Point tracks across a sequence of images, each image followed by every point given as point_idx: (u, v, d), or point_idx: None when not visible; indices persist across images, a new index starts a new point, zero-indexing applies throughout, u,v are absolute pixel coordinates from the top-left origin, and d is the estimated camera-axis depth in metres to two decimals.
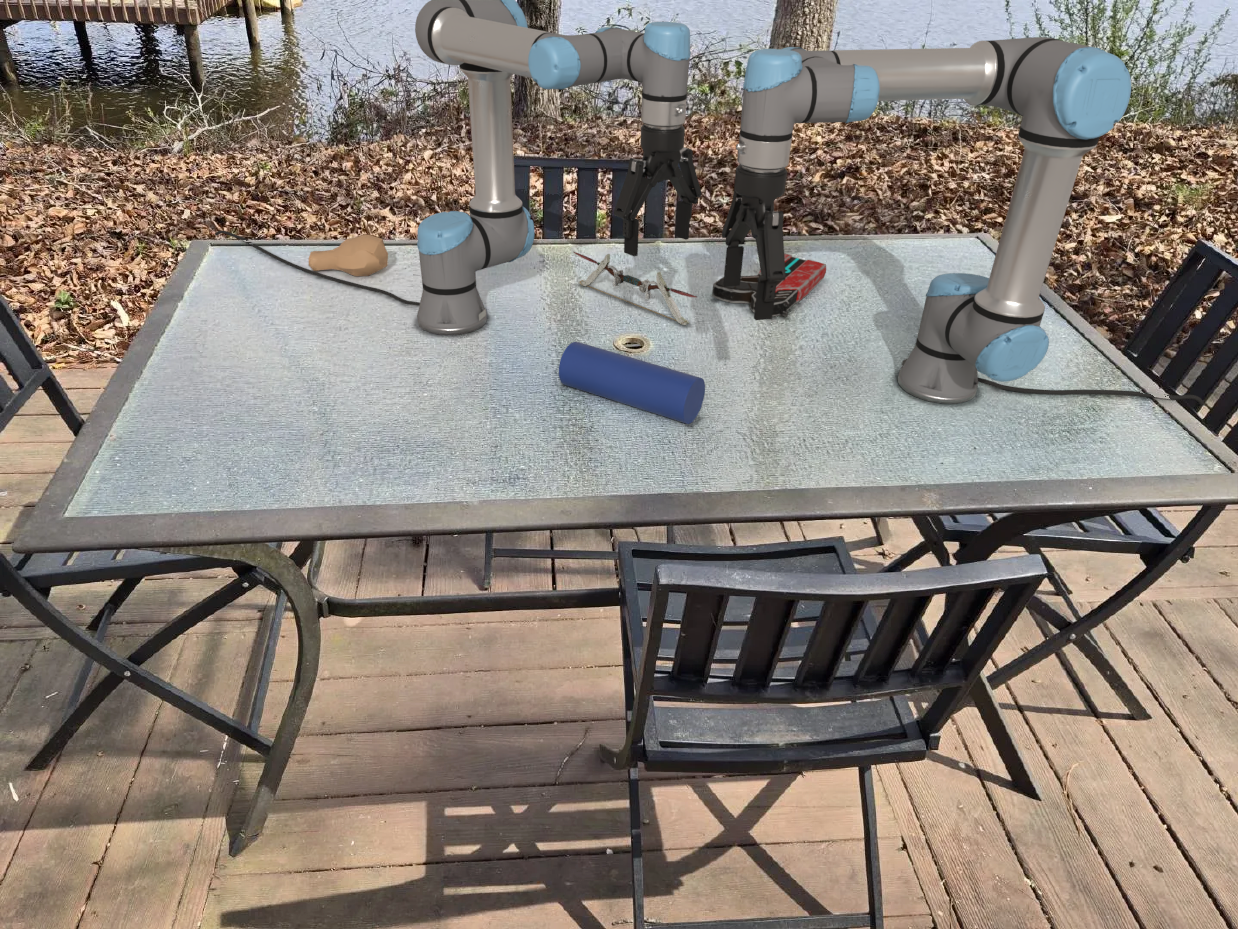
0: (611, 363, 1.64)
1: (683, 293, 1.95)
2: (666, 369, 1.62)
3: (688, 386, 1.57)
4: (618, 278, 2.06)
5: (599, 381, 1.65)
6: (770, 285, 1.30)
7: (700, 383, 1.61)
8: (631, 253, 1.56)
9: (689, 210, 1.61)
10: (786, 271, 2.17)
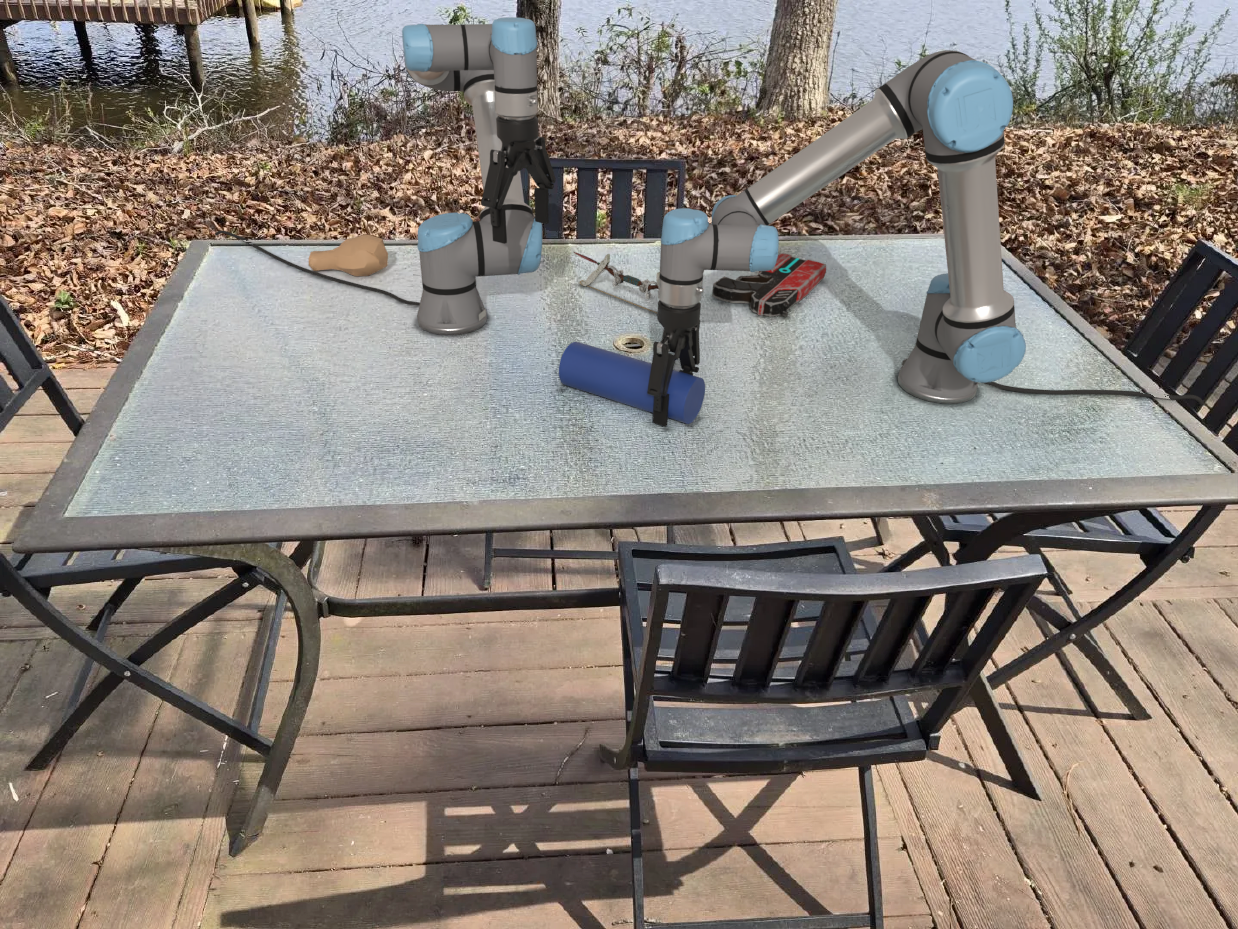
0: (611, 363, 1.64)
1: None
2: None
3: (688, 386, 1.57)
4: (618, 278, 2.06)
5: (599, 381, 1.65)
6: None
7: (700, 383, 1.61)
8: (500, 241, 1.63)
9: (547, 195, 1.70)
10: (786, 271, 2.17)
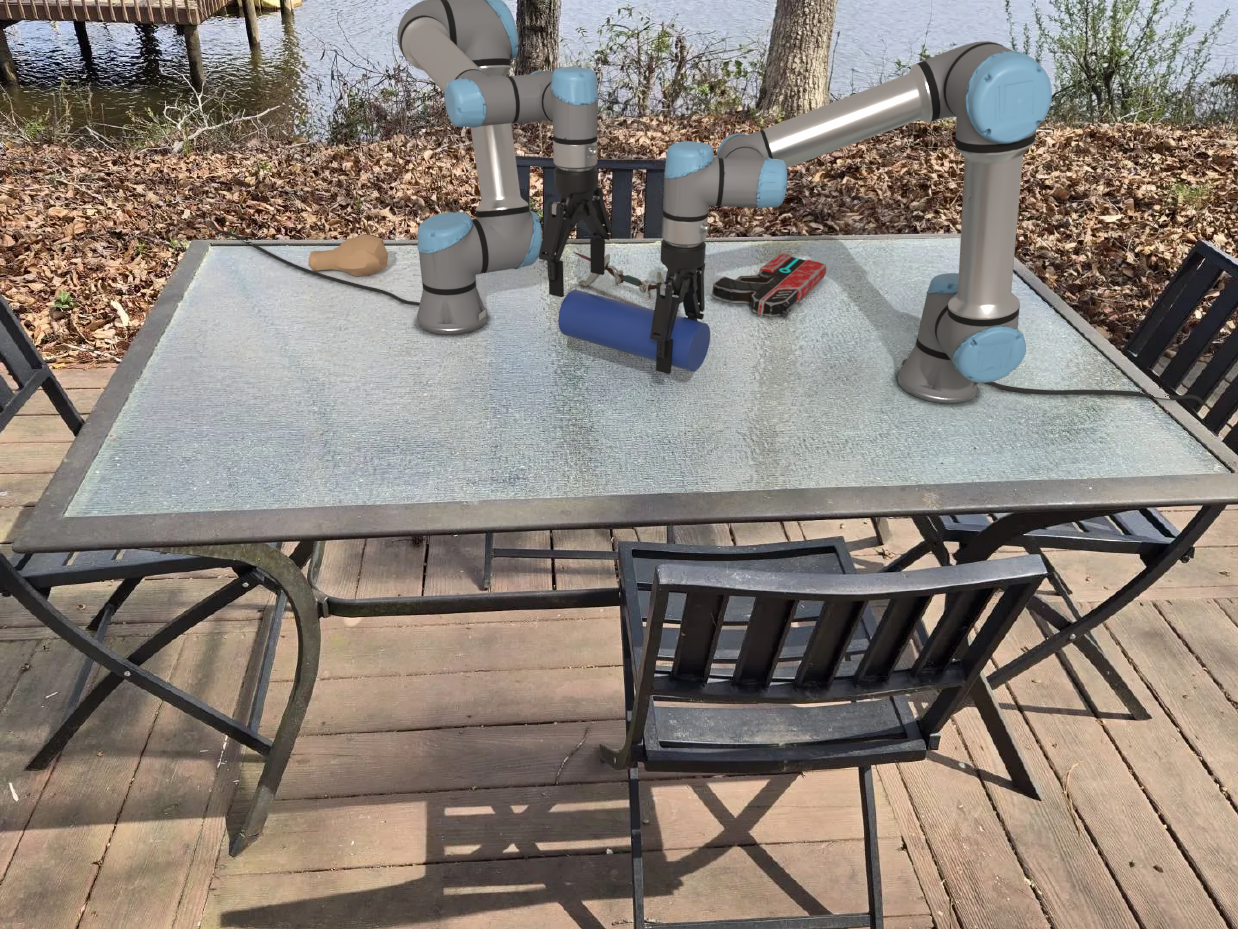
0: (612, 310, 1.58)
1: None
2: None
3: (692, 331, 1.51)
4: (618, 278, 2.06)
5: (600, 328, 1.59)
6: None
7: (705, 329, 1.55)
8: (557, 294, 1.57)
9: (603, 246, 1.64)
10: (786, 271, 2.17)
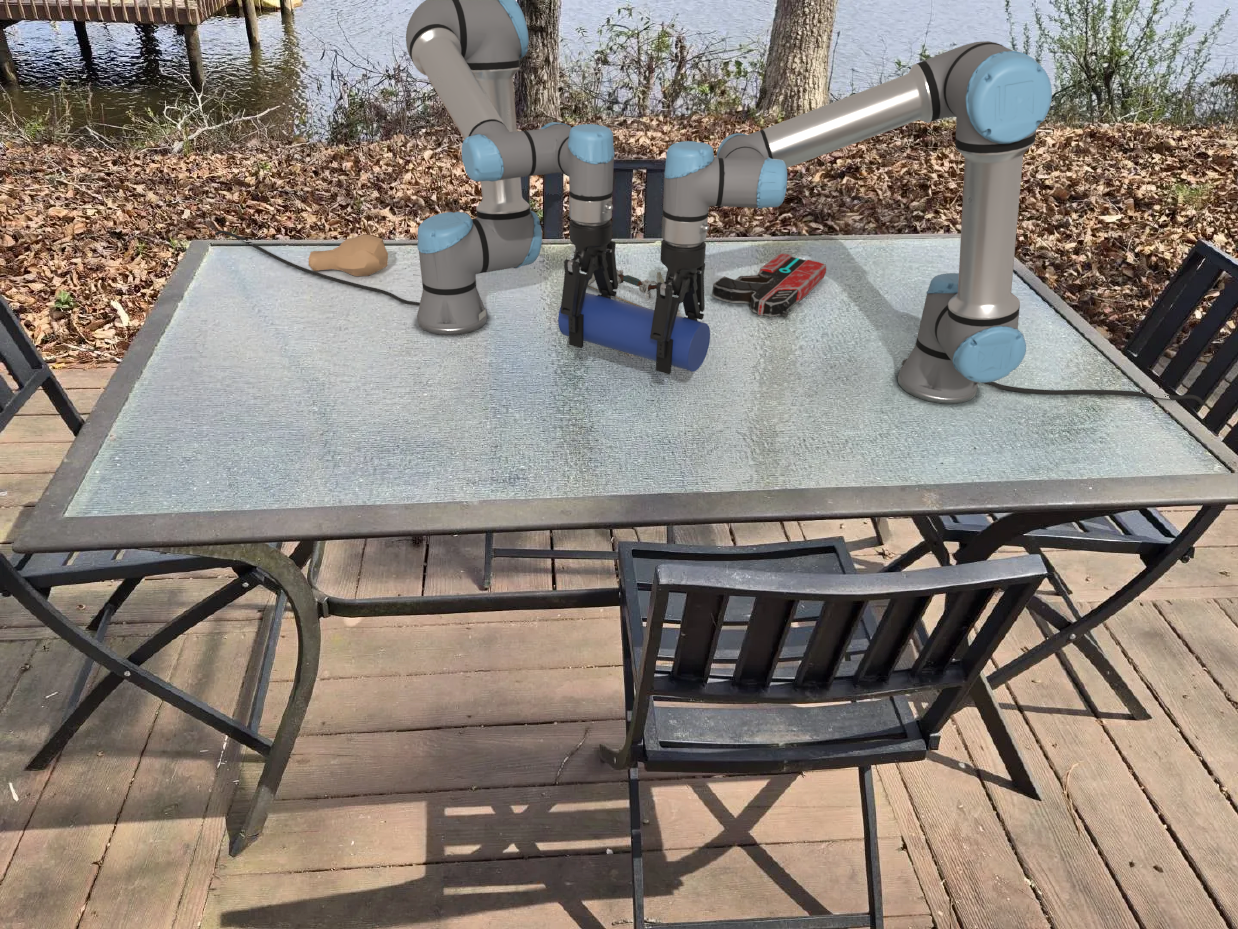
0: (612, 310, 1.58)
1: None
2: None
3: (692, 331, 1.51)
4: (618, 278, 2.06)
5: (600, 329, 1.59)
6: None
7: (705, 329, 1.55)
8: (577, 345, 1.62)
9: None
10: (786, 271, 2.17)
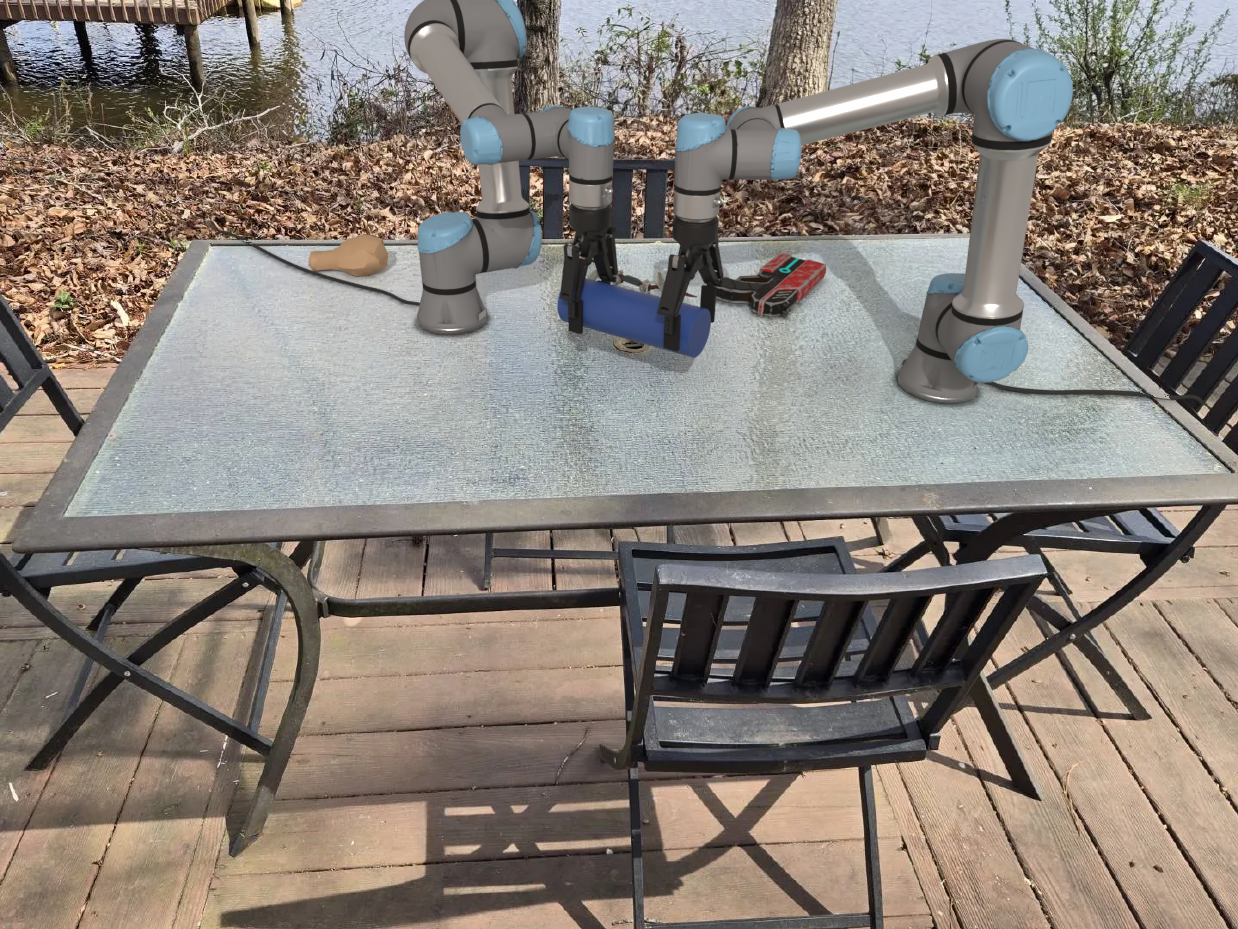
0: (612, 295, 1.57)
1: None
2: None
3: (693, 316, 1.50)
4: (618, 278, 2.06)
5: (599, 314, 1.57)
6: None
7: (706, 315, 1.53)
8: (577, 331, 1.61)
9: None
10: (786, 271, 2.17)
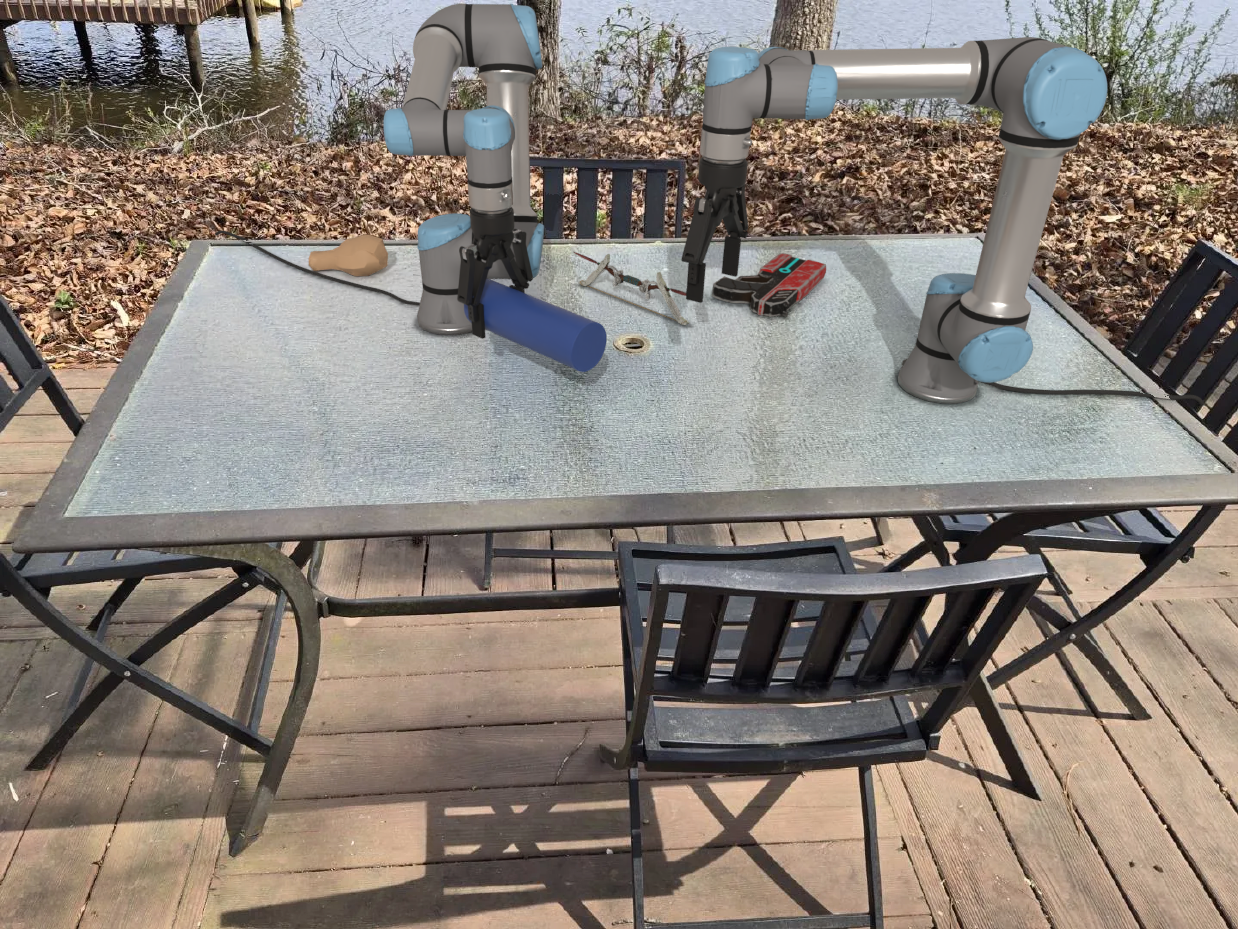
0: (511, 302, 1.54)
1: (683, 293, 1.95)
2: (564, 311, 1.50)
3: (578, 329, 1.45)
4: (618, 278, 2.06)
5: (497, 320, 1.55)
6: None
7: (598, 329, 1.48)
8: (479, 335, 1.59)
9: None
10: (786, 271, 2.17)
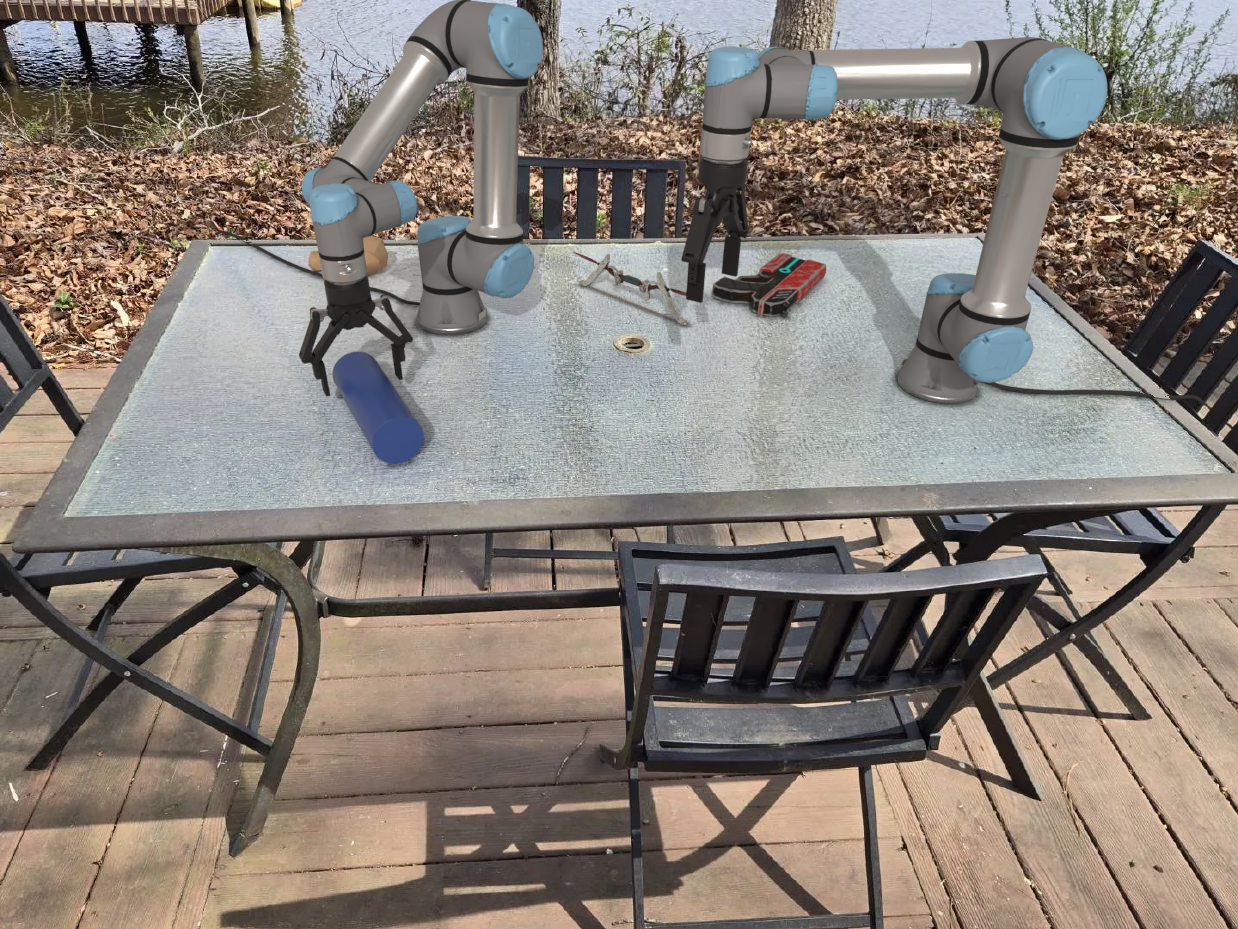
0: (356, 380, 1.56)
1: (683, 293, 1.95)
2: (388, 400, 1.50)
3: (382, 422, 1.44)
4: (618, 278, 2.06)
5: (344, 395, 1.58)
6: None
7: (409, 424, 1.46)
8: (324, 392, 1.60)
9: (397, 354, 1.63)
10: (786, 271, 2.17)
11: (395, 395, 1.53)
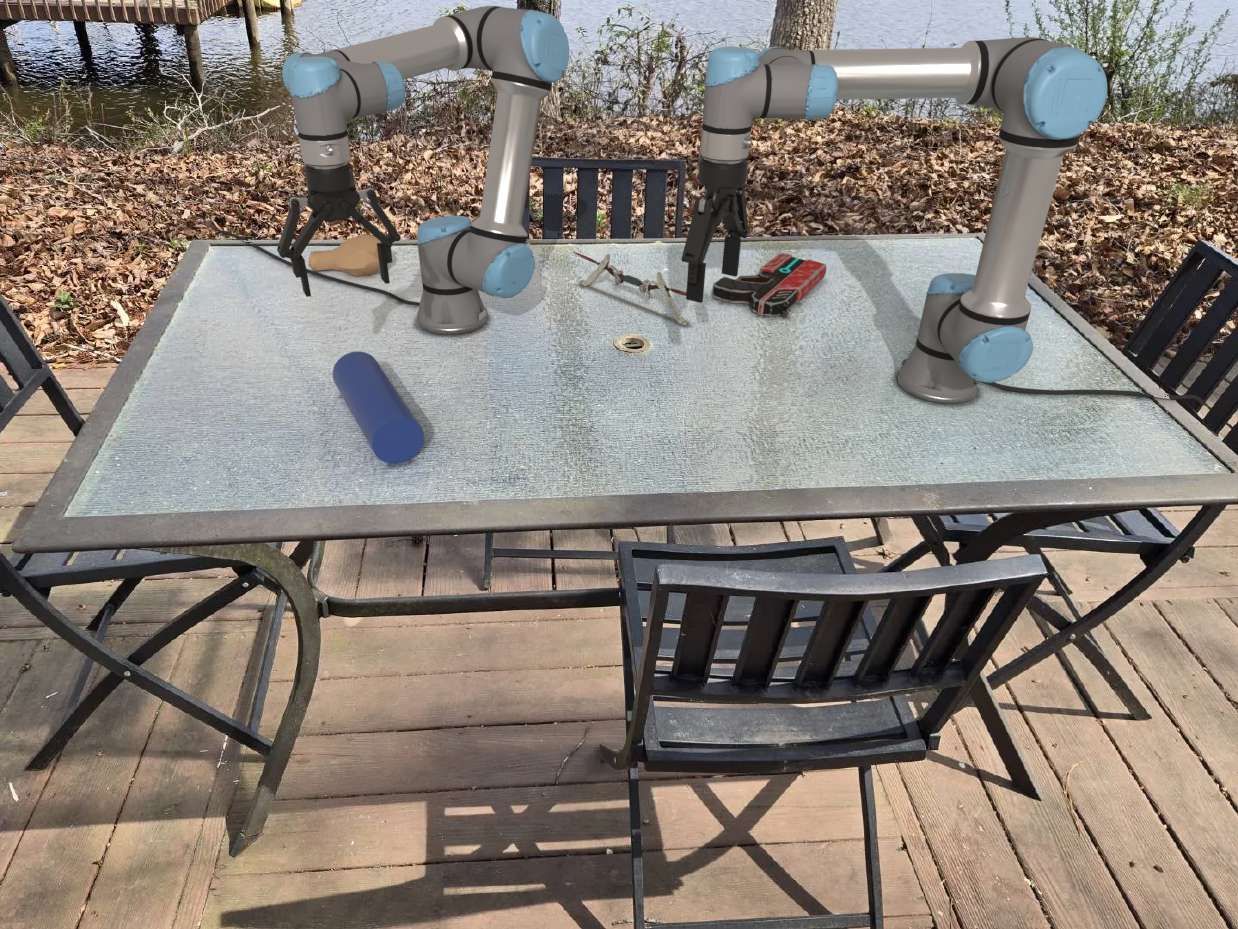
0: (356, 380, 1.56)
1: (683, 293, 1.95)
2: (388, 400, 1.50)
3: (382, 422, 1.44)
4: (618, 278, 2.06)
5: (344, 395, 1.58)
6: None
7: (409, 424, 1.46)
8: (305, 293, 1.50)
9: (384, 254, 1.52)
10: (786, 271, 2.17)
11: (395, 395, 1.53)
